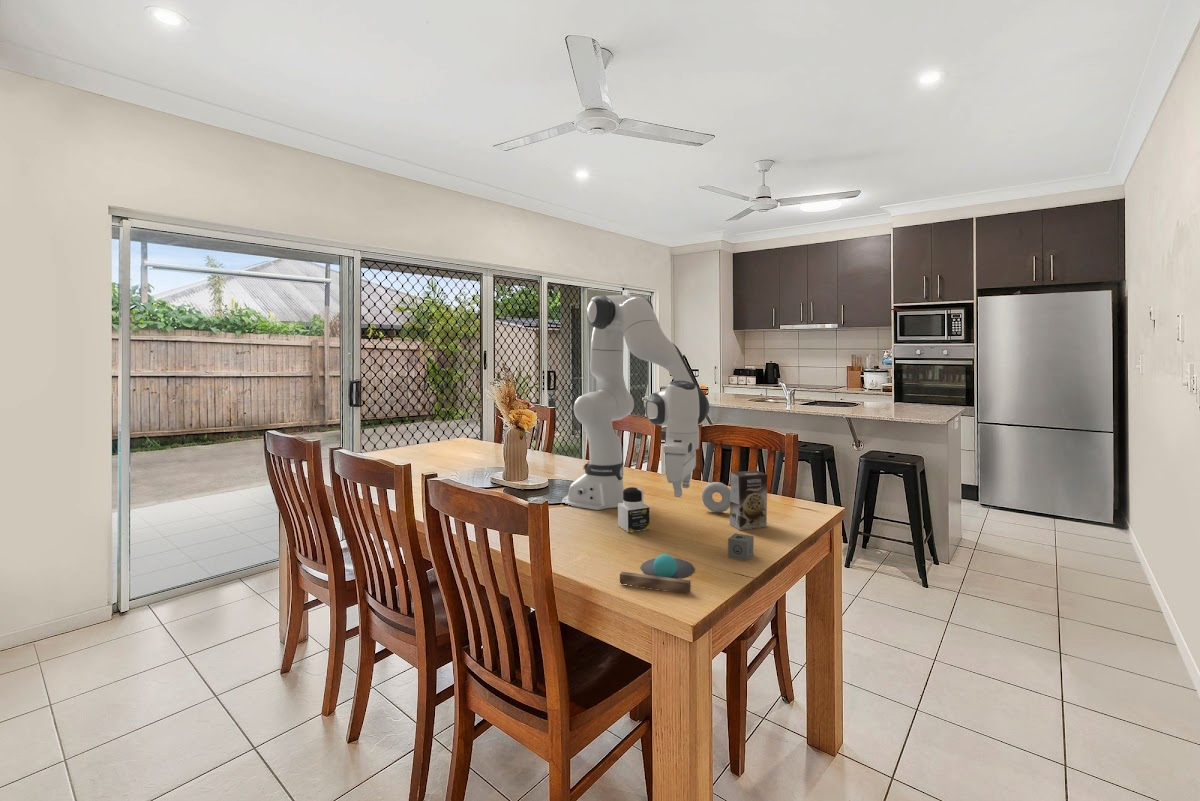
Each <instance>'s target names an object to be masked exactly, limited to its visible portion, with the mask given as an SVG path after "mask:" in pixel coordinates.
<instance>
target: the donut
mask: <svg viewBox="0 0 1200 801" xmlns="http://www.w3.org/2000/svg"><path fill="white" fill-rule="evenodd" d="M715 493H718V494H720V496H721V500H720V501H715V499H713V494H715ZM701 500H702V503H703V505H704V507H705V508H706V509H708V510H709V511H710V512H713V513H716V514H719V513H724V512H726V511H727V510H730V487H728V485H727V484H724V483H723V482H719V481H713V482H709V483H708V484H706V485H705V486H704V488H703V490H702V491H701Z"/></svg>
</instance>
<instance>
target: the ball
mask: <svg viewBox="0 0 1200 801" xmlns="http://www.w3.org/2000/svg"><path fill="white" fill-rule="evenodd" d="M655 558H656V559H655ZM655 558H654V559H655V561H654V571H655V573H656V574H657V575H658V576H660V577H668V578H670V577H672V576H673V575H674V574H675V573H676V570H677V563H676V561H675V559H674V558H675V557H673V556H672V555H671V554H667V553H663V554H660V555H658V556H656V557H655Z"/></svg>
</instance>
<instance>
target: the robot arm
mask: <svg viewBox="0 0 1200 801" xmlns="http://www.w3.org/2000/svg"><path fill="white" fill-rule="evenodd" d="M586 318H587V321H588V323H589V325H591V327H593V328H592V332H591V333H592V334H591V340H590V341H591V342H590V360H589V371H590V374H591V375H592V376H593V377H594V378H595V380H596V383H597V387H598V390H596V391H589V392H587V393H584V394H582V395H579V397H578V398H576V400H575V401H574V404H573V413H574V416H575V418H576V420H577V421H578V422H579V423H580V424H581V425H582V426H583V428H584V430H585V433H586V435H587V440H588V449H589V450H588V451H589V452H588V453H589V454H588V455H589V461H587V463H585V464H584V465H582V467H583V468H582V470H584V473H583V474H581V475H580V476H579V477H578V478H576V479H575V480H574V481H573V482H571V484H570V486H569V489H568V494H567V495H566V496H565V497H563V498H562V500H561V504H562V503H565V504H568V505H567V506H569V505H571V506H572V507H576V508H583V509H590V510H594V511H599V510H606V509H612V508H618V504H619V503H624V502H623V490H624V489H625V487H624V462H623V458H622V451H623V450H622V439H621V438H620V436H619V435H617V434H616V432H615V430H614V426H613V422H615V421H620V420H623V419H624V418H626V417H628V416H630V415H631V413H632V412H633V411H634V407H635V401H634V398H633V395H632V394H631V393H630V392H629V391H628V389H627V385H626V382H625V378H624V377H625V376H624V349H625V348H624V346H625V345H624V343H625V344H626V346H627V349H628V350H629V353H631V354H632V355H633V356H634V357H636V358H637V359H638V360H642V361H645V362H649V363H652V364H654V365H658V366H660V367H662V368H663V369H666V370H667V372H668V373H670V375H671V378H672V379H673V381H670V382H669V383H668V384H667V386H666V387H665V388H664V389H662V390H659V391H656V392H653V393H651V394H650V395H649V397H648V398H647V399H646V401H645V402H646V403H645V415H646V418H647V419H648V421H649V422H650V423H651V424H653V425H655V426H660V427H661V426H666V430H665V442H664V444H663V449H662V450H663V453H664V454H665V457H664V458H665V474H666V475H665V476H666V480H667V482H668V483H669V484H672V488H673V491H674V492H673V493H674V497H676V498H681V496H683V489H688V488H690V486H691V485H690V484H691V483H690V481H691V476H692V472H693V471H694V470H695V468H696V466H697V453H696V451H697V450H699V449H700V428H699V425H701V424H702V422H704V421H705V420H706V418H707V417H708V415H709V412H710V403H709V400H708V397H707V396H706V393H704V392H703V390H702V388H700V385H699V384H698V383H697V380H696V379H695V376H694V375H693V373H692V371H691V370H690V367H689V365H688V364H687V361H686V360H685V358H684V357H685V356H683V354H682V352H681V350H680V349H679V347H678V346H677V345H676V344H674V342H671V340H669V338H668V337H667V336H666V335H665V333H664V332H663V330H662V328H661V326H660V323H659V319H658V316H657V315H656V313H655V310H654V307H653V303H652V302H651V300H650V299H648V298H646V297H643V296H634V295H629V294H627V295H626V294H619V295H618V294H617V295H615V294H613V295H611V294H610V295H604V294H601V295H595V296H593V297H591V299H590V300H589V302H588V304H587V307H586ZM624 340H625V342H624ZM682 488H683V489H682ZM571 506H570V507H571Z"/></svg>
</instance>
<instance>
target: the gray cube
mask: <svg viewBox="0 0 1200 801" xmlns="http://www.w3.org/2000/svg"><path fill="white" fill-rule="evenodd" d="M754 539H755V538H754V535H749V534H742V533H738V532H734V533H733V534H732V535H731V536H730V537H728V538H727V556H728V557H727V558H729V559H735V560H740V561H746V562H747V561H748V560H750V559H751V558H752V557H753V556H754V550H755V549H754V546H755V545H754V544H755V543H754V541H755V540H754Z"/></svg>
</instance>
